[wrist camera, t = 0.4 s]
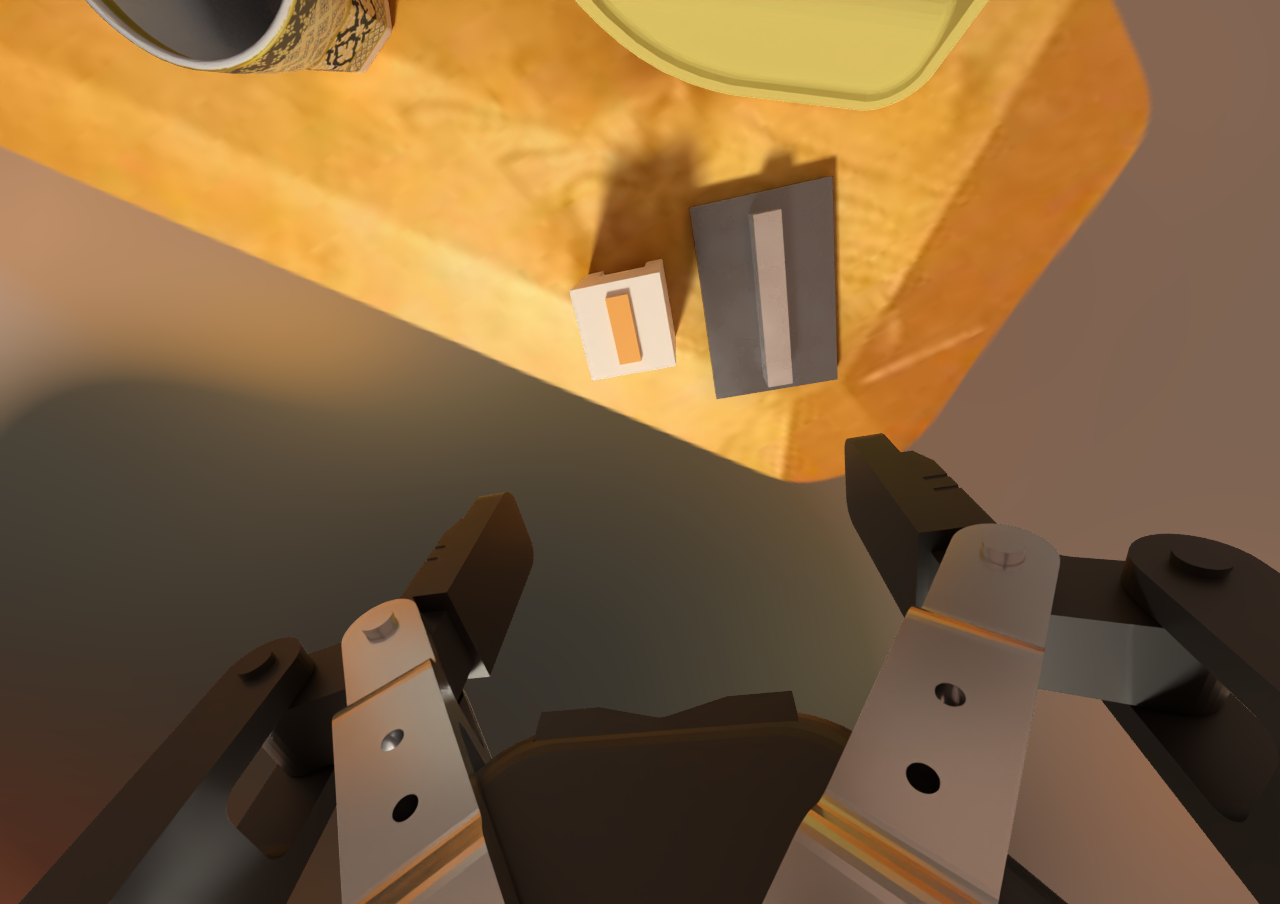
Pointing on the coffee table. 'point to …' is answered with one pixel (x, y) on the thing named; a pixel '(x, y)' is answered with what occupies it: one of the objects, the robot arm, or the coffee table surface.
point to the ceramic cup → (254, 33)
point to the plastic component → (793, 45)
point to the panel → (769, 287)
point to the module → (625, 321)
